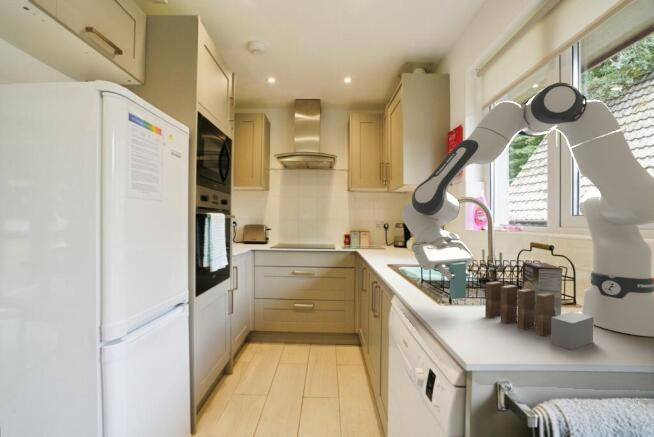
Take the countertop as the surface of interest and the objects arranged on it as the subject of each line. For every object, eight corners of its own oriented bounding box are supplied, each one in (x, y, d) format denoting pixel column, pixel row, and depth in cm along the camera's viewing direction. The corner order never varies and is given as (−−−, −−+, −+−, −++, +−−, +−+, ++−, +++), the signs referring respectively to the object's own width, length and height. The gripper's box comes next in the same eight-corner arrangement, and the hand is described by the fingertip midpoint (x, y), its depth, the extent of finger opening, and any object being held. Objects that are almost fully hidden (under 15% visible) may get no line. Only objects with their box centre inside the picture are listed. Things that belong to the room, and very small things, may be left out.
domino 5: (535, 333, 71) (536, 294, 71) (546, 330, 73) (547, 292, 73) (542, 336, 70) (543, 296, 70) (553, 332, 72) (554, 294, 72)
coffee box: (520, 313, 87) (521, 261, 86) (543, 315, 85) (544, 262, 85) (536, 324, 78) (537, 266, 77) (562, 326, 76) (563, 267, 76)
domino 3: (500, 321, 79) (501, 286, 79) (511, 319, 81) (511, 284, 81) (506, 323, 78) (506, 287, 78) (516, 321, 80) (517, 286, 80)
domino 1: (449, 297, 82) (449, 263, 82) (461, 295, 85) (461, 262, 85) (454, 299, 81) (454, 264, 81) (466, 296, 83) (466, 263, 83)
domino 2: (485, 316, 83) (485, 283, 83) (495, 314, 86) (496, 281, 85) (490, 318, 82) (491, 284, 82) (501, 315, 84) (501, 282, 84)
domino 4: (517, 327, 75) (517, 290, 75) (527, 324, 77) (528, 288, 77) (523, 329, 74) (524, 291, 74) (534, 326, 76) (535, 289, 76)
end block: (572, 335, 70) (573, 311, 70) (593, 341, 67) (593, 316, 67) (551, 342, 66) (551, 317, 66) (571, 350, 62) (572, 323, 62)
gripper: (414, 236, 84) (440, 274, 76) (460, 234, 94) (489, 268, 85) (404, 249, 88) (427, 287, 80) (449, 246, 98) (475, 280, 89)
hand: (459, 277), depth 82 cm, fingers closed on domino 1, 5 cm apart
